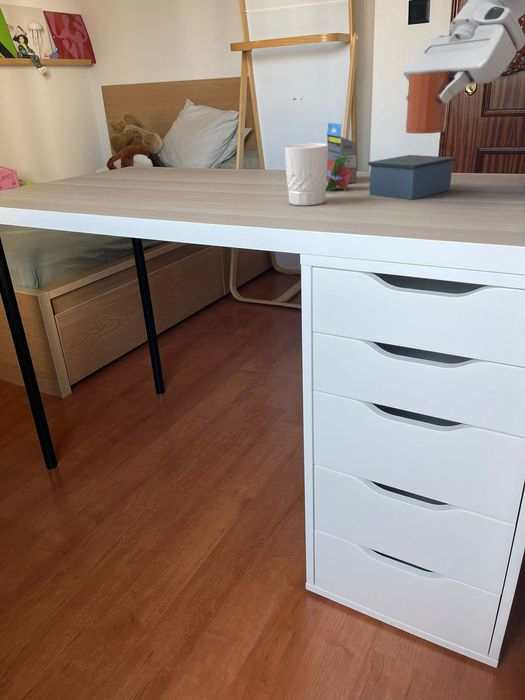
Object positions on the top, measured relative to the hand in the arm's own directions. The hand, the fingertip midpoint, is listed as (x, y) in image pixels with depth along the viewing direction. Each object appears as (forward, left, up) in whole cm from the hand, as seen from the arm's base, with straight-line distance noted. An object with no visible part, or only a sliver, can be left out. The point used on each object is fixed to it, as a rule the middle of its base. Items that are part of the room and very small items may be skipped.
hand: (424, 100), depth 88 cm
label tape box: (-9, -27, -16) cm, 33 cm away
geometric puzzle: (0, -20, -16) cm, 26 cm away
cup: (-1, 0, -5) cm, 5 cm away
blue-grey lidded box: (-6, -6, -16) cm, 18 cm away
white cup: (+13, -15, -16) cm, 26 cm away
